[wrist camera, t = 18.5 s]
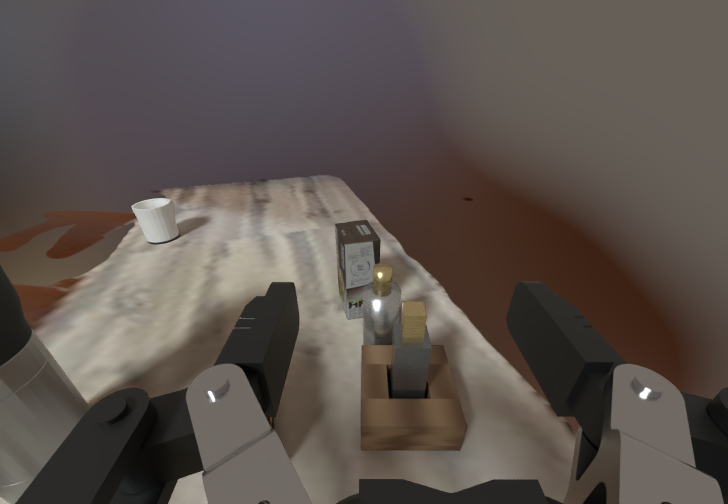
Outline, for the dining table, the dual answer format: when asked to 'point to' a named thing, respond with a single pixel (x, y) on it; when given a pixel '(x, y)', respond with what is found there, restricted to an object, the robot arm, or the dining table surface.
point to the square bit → (410, 353)
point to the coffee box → (355, 262)
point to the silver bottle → (380, 306)
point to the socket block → (409, 406)
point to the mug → (157, 220)
